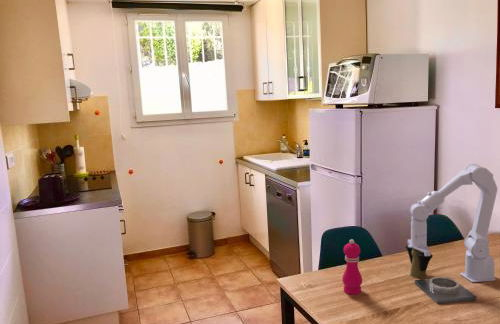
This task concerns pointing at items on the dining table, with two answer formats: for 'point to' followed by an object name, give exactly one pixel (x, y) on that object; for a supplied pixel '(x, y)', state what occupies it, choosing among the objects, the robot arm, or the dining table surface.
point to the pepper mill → (352, 269)
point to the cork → (416, 266)
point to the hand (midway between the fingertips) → (418, 267)
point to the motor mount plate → (445, 297)
